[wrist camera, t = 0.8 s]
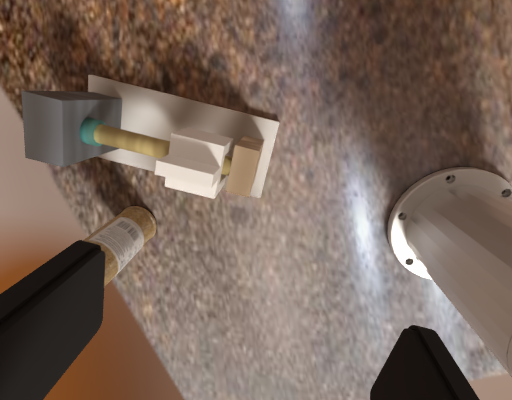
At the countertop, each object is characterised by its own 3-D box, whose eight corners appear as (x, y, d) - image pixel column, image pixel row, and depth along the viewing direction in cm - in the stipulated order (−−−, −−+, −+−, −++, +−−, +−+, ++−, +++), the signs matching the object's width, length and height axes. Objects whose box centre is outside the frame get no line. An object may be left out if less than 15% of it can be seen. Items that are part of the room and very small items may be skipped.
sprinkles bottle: (113, 213, 34) (11, 284, 21) (144, 198, 33) (56, 263, 20) (135, 245, 35) (50, 330, 22) (165, 232, 34) (95, 313, 21)
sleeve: (233, 138, 25) (218, 151, 19) (224, 184, 26) (207, 209, 20) (188, 127, 25) (158, 137, 19) (181, 173, 26) (152, 195, 20)
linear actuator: (279, 121, 28) (277, 132, 20) (260, 195, 31) (252, 232, 23) (93, 75, 28) (13, 66, 20) (91, 152, 31) (20, 174, 23)
